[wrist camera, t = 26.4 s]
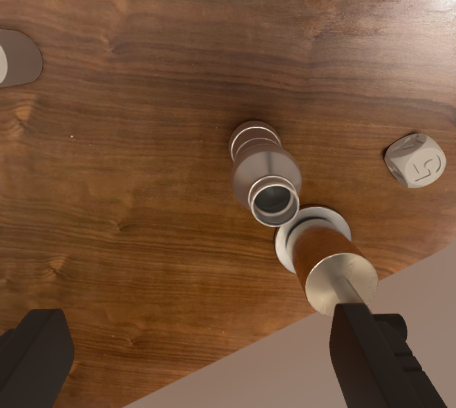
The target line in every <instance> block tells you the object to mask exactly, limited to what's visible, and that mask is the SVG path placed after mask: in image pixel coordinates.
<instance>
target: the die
mask: <svg viewBox="0 0 456 408" xmlns="http://www.w3.org/2000/svg"><path fill="white" fill-rule="evenodd" d="M384 160H385V163H386V165H387V167H388V168H389V170H390V171H391V173H392V174H393V176H394V177H395V178H396V179H397V180H398V181H399V182H400V183H401V184H402V185H403V186H404V187H407V188H418V187H423V186H426V185H428V184H430V183H432V182H434V181H435V180H436V179H438V178H439V177H440V175H441V174H442V172H443V171H444V169H445V166H446V157H445V155H444V153H443V151H442V150H441V148H440V147H439V146H438V144H437V143H436V142H435V141H434V140H433V139H432V138H430V137H429V136H427V135H425V134H412V135H409V136H406V137H403V138H401V139H399V140H398V141H396V142H395V143H393V144H392V145H391V146H390V147H389V148H388V150H387V152H386V154H385V158H384Z"/></svg>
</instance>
